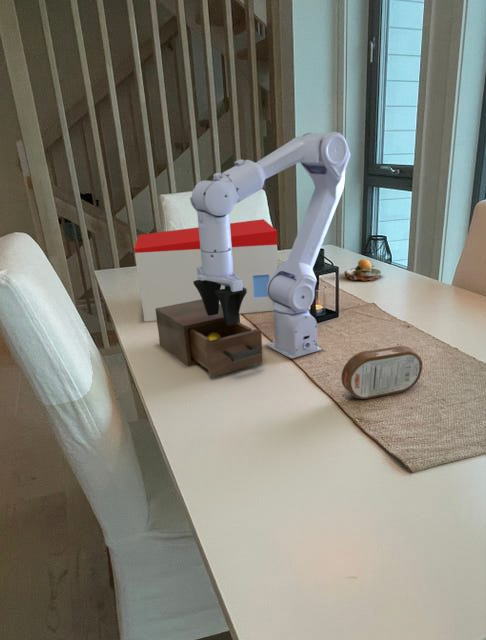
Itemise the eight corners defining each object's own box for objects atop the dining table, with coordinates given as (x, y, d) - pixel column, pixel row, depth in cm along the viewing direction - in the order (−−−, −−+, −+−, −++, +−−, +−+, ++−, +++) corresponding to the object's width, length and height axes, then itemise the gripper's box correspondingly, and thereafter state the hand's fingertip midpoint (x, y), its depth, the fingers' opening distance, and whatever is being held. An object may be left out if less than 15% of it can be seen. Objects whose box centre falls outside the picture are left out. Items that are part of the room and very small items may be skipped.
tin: (413, 383, 95) (417, 340, 91) (423, 390, 92) (427, 347, 89) (340, 397, 90) (340, 353, 87) (347, 405, 87) (348, 360, 84)
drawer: (274, 369, 99) (273, 336, 96) (222, 385, 93) (219, 350, 90) (230, 342, 112) (227, 313, 110) (181, 355, 106) (178, 324, 103)
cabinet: (242, 351, 110) (239, 313, 107) (187, 366, 103) (183, 326, 100) (211, 333, 121) (207, 297, 117) (160, 345, 114) (155, 308, 110)
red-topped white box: (280, 310, 136) (278, 230, 128) (144, 321, 129) (132, 238, 121) (267, 289, 155) (264, 219, 147) (147, 298, 147) (137, 225, 139)
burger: (377, 272, 173) (378, 250, 170) (384, 281, 163) (385, 257, 160) (341, 273, 173) (342, 251, 170) (346, 282, 162) (347, 258, 159)
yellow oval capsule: (220, 348, 100) (204, 341, 99) (214, 363, 101) (198, 356, 100) (225, 332, 108) (210, 326, 107) (219, 346, 109) (204, 340, 108)
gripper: (179, 246, 97) (187, 314, 103) (215, 259, 87) (221, 334, 92) (213, 242, 101) (218, 307, 107) (250, 253, 90) (254, 325, 96)
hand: (221, 319), depth 100 cm, fingers open, 7 cm apart
